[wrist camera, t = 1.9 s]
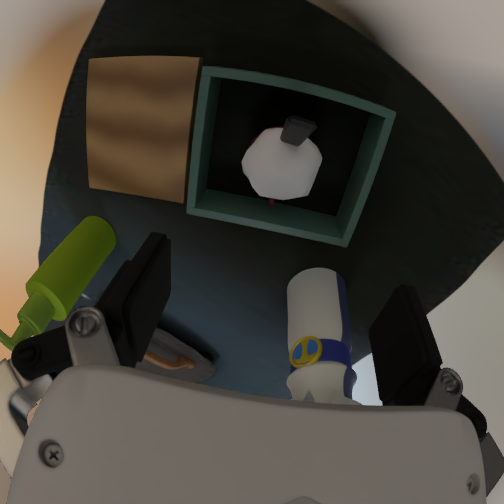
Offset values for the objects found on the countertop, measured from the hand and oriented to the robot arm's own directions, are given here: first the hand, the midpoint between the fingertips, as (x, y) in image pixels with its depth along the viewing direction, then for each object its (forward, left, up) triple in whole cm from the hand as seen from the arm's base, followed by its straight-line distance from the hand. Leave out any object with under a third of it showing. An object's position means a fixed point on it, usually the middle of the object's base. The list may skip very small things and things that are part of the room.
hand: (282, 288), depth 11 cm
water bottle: (+17, +8, -19) cm, 27 cm away
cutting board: (0, -15, -19) cm, 24 cm away
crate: (0, 0, -19) cm, 19 cm away
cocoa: (0, 0, -19) cm, 19 cm away
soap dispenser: (+15, -22, -19) cm, 33 cm away
